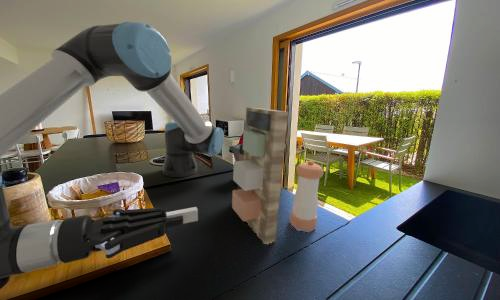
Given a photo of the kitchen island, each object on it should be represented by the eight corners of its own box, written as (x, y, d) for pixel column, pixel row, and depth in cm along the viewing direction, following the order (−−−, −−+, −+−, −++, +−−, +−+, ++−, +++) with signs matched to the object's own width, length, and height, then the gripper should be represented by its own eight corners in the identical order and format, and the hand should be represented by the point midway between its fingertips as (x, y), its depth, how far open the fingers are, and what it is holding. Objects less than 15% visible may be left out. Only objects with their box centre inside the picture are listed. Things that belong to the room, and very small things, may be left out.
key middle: (233, 179, 53) (233, 161, 52) (250, 177, 55) (251, 159, 54) (244, 190, 47) (245, 170, 46) (263, 187, 49) (264, 168, 48)
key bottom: (232, 207, 55) (232, 190, 54) (248, 204, 57) (249, 187, 56) (243, 221, 49) (244, 202, 48) (261, 217, 51) (262, 198, 50)
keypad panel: (238, 215, 61) (244, 107, 53) (249, 213, 63) (256, 107, 55) (262, 245, 49) (274, 111, 41) (275, 241, 51) (288, 111, 43)
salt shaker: (314, 235, 54) (325, 167, 50) (287, 228, 56) (295, 162, 52) (316, 221, 61) (325, 159, 56) (291, 215, 63) (298, 155, 59)
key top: (242, 149, 52) (243, 130, 51) (259, 148, 55) (260, 129, 53) (255, 156, 46) (257, 135, 45) (274, 155, 49) (275, 134, 47)
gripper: (75, 236, 42) (191, 213, 53) (52, 288, 31) (204, 245, 42) (70, 204, 41) (191, 187, 51) (43, 246, 29) (204, 213, 40)
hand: (197, 213), depth 47 cm, fingers closed
